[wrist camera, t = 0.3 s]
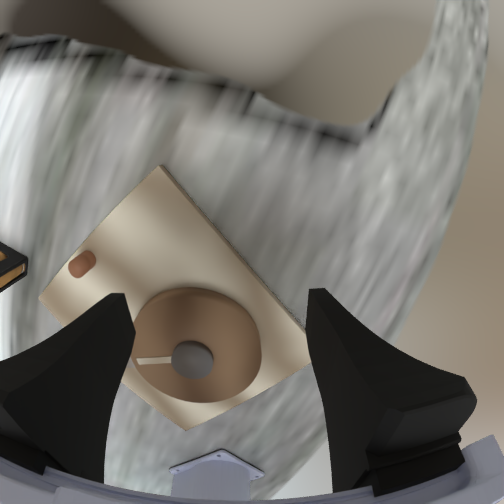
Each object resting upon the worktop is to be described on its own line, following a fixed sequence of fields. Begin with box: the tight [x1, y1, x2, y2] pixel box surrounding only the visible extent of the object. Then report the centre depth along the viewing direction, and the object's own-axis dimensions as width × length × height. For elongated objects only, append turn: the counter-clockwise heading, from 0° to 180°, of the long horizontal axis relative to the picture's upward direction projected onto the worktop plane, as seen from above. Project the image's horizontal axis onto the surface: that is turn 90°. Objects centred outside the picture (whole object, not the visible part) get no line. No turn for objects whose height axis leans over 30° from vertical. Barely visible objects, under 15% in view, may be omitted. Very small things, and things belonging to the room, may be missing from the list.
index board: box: [39, 165, 311, 431], centre depth 22 cm, size 16×19×3 cm
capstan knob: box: [126, 287, 262, 403], centre depth 21 cm, size 14×10×4 cm
